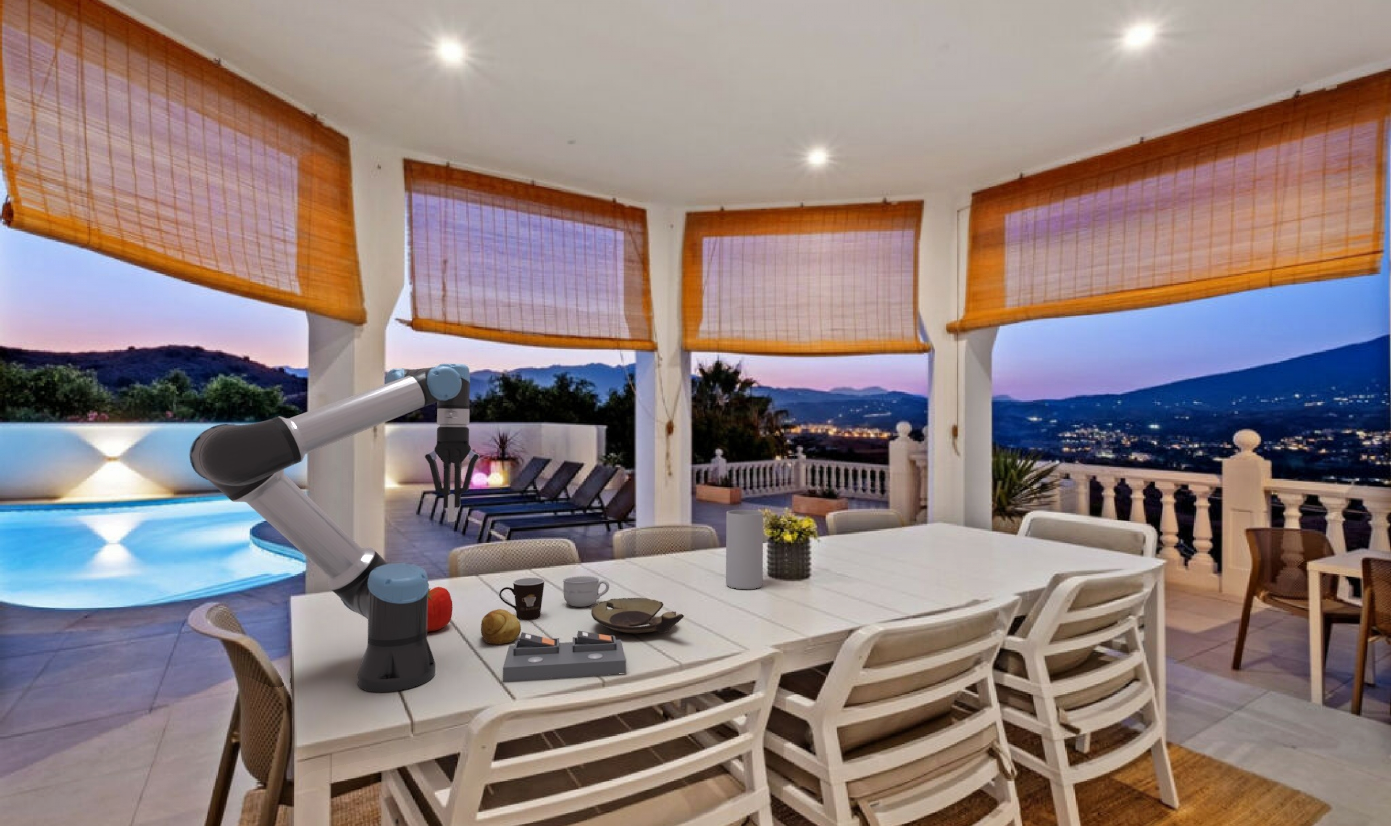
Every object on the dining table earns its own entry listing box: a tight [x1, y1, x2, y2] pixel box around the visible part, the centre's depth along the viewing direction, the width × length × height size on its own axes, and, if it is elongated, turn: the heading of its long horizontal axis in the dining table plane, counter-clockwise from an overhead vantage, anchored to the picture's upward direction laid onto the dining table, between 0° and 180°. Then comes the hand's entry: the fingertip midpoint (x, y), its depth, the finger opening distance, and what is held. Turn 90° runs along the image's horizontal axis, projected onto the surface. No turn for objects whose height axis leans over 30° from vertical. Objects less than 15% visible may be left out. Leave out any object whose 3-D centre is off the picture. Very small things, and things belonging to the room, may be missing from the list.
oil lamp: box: [590, 597, 685, 634], centre depth 174 cm, size 22×30×8 cm
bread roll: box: [480, 608, 522, 645], centre depth 167 cm, size 13×10×8 cm
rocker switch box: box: [502, 635, 627, 683], centre depth 148 cm, size 26×14×4 cm, turn 101°
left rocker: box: [518, 631, 556, 647], centre depth 150 cm, size 8×4×1 cm, turn 100°
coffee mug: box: [498, 577, 545, 621], centre depth 185 cm, size 12×9×10 cm
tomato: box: [427, 586, 453, 633], centre depth 173 cm, size 14×13×10 cm
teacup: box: [562, 575, 610, 608], centre depth 198 cm, size 14×11×8 cm
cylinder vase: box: [725, 509, 764, 590], centre depth 223 cm, size 12×12×25 cm
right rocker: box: [576, 630, 613, 644], centre depth 152 cm, size 8×4×1 cm, turn 100°
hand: (451, 520), depth 162 cm, fingers closed
